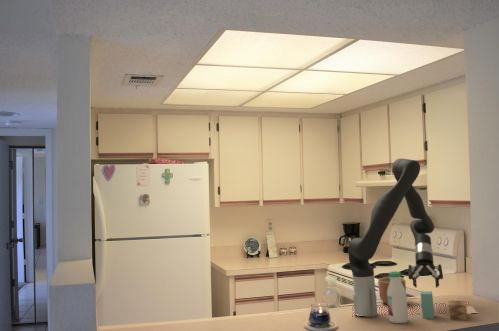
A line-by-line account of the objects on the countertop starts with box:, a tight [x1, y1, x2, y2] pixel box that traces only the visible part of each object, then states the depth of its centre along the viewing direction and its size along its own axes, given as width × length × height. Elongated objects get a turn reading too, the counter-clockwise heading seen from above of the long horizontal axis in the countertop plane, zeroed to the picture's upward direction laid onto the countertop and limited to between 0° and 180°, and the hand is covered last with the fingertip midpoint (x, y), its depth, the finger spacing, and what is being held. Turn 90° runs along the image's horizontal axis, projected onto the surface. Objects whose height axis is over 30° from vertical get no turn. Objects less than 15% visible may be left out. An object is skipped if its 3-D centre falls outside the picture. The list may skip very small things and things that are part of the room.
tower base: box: [447, 300, 468, 321], centre depth 201 cm, size 6×6×6 cm
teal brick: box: [420, 290, 435, 319], centre depth 205 cm, size 4×4×10 cm
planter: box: [377, 276, 407, 305], centre depth 230 cm, size 12×12×11 cm
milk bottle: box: [387, 271, 409, 324], centre depth 202 cm, size 8×8×20 cm
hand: (426, 286), depth 211 cm, fingers open, 8 cm apart
